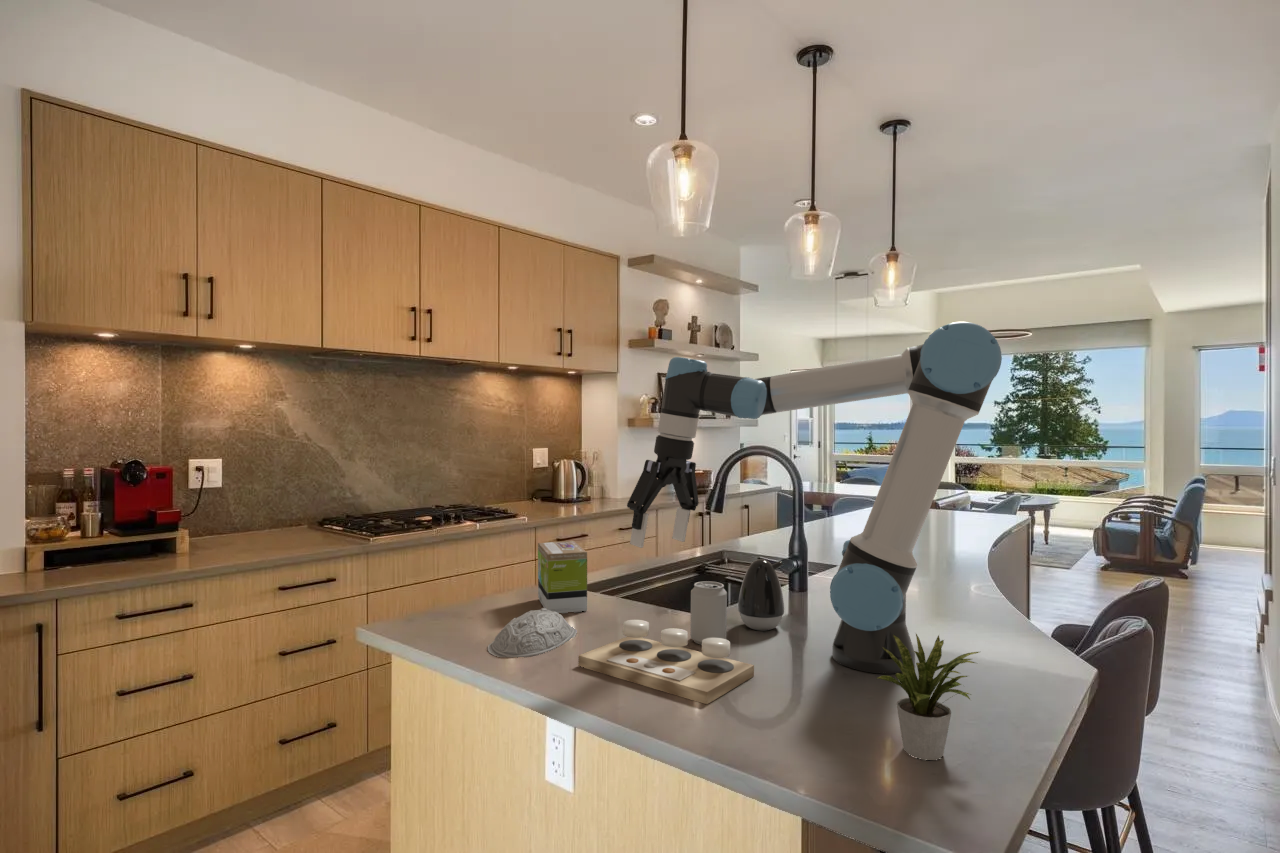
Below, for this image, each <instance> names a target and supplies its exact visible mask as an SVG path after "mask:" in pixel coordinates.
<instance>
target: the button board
mask: <svg viewBox="0 0 1280 853" xmlns="http://www.w3.org/2000/svg"><path fill="white" fill-rule="evenodd" d="M577 656H578V662H577V665H578V667H580V666H581V668H583V667H584V669H586V670H590V671H594V672H597V673H601V674H604V675H607V676H609V677H610V676H611V677H612V678H613V677H614V678H617V679H620V680H624V681H628V682H629V683H634V684H638V685H641V686H644V687H647V688H650V689H654V690H657V691H661V692H664V693H668V694H671V695H675V696H677V697H680V698H683V699H684V698H685V699H687V700H691V701H694V702H697V703H700V704H704V705H709V704H710V703H712V702H713V701H716V700H717V699H719V698H721V697H722V696H723V695H725V694H727V693H728V692H730V691H731V690H733V689H735V688H736V687H738V686H741V684H743V683H745V682H747V681H748V680H750V679H751V678H754V677H755V665H754V664H752V663H747V662H742V661H739V660H735V659H732V658H727V657H723V658H712V657H707V656H705V655H703V654H702V651H697V650H695V649H692V648H691V649H689V648H686V647H684V646H683V647H667V646H664V645H662V644H661V641H658V640H653V639H650V638H646V637H640V638H632V637H627V636H625V637H623V638H619V639H617V640H615V641H613V642H609V643H607V644H603V645H602V646H599V647H596V648H594V649H592V650H589V651H586V652H584V653H581V654H578V655H577Z"/></svg>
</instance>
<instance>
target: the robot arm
mask: <svg viewBox="0 0 1280 853" xmlns="http://www.w3.org/2000/svg"><path fill="white" fill-rule="evenodd" d="M1000 346H1001V345H1000V344H999V341H998V339H996V337H995V336H994V335H993V333H991V332H990V330H988V329H987V328H985V327H983V326H981V325H980V324H978V323H974V322H970V321H969V322H968V321H955V322H950V323H946V324H945V325H942V326H940V327H938V328H937V329H935V330H934V331H933V332H932V333H931V334H930V335H929V336H928V337H927V339H925V341H924V342H923V344H920V345H916V346H910V347H908V346H907V347H906V349H905V350H904V351H903V352H902V353H900V354H895V355H889V356H882V357H877V358H872V359H865V360H859V361H853V362H848V363H841V364H836V365H830V366H824V367H823V366H822V367H817V368H812V369H806V370H800V371H795V372H788V373H783V374H777V375H770V376H764V377H758V378H753V377H749V376H748V377H747V376H745V377H744V376H737V375H732V374H731V375H728V374H724V373H723V374H722V373H716V372H715V373H714V372H711V371H708V363H707V362H706V361H704V360H700V359H695V358H688V357H680V356H675V357H672V358H670V360H669V362H668V366H667V371H666V375H665V377H664V387H663V388H664V389H663V394H662V400H661V402H662V403H661V408H660V413H659V420H658V426H657V432H658V433H659V435H656V437H655V444H654V448H653V449H654V450H653V452H654V454H655V455H656V456H657V458H656V460H651V459H646V460H645V462H644V465H643V470H642V473H641V474H640V476H639V479H638V481H637V483H636V484H635V487H634V489H633V491H632V493H631V495H630V497H629V500H628V501H627V503H626V507H627V508H628V509H629V511H633V515H632V516H633V517H632V523H631V528H632V529H631V535H630V541H629V545H632V546H634V547H637V548H640V549H642V548H644V544H645V538H646V533H647V528H648V527H647V526H648V521H649V513H648V512H647V511H648V509H649V508H650V506H652V503H653V502H654V501H655V499H656V498H657V496H658V495H659V493H660V492H661V491H662V489H663V488H665V487H666V486H667V485H669V486H670V485H672V486H673V488H674V492H675V494H676V497H677V500H678V503H679V505H680V507H676V512H675V513H676V514H675V519H674V526H673V531H672V537H671V538H672V539H673V540H676V541H679V542H681V543H684V542H686V536H687V531H688V530H687V529H688V525H689V524H688V523H689V522H690V521H689V520H690V515H691V511H693V512H694V511H696V509H697V507H698V505H699V504H700V503H699V494H698V486H697V478H696V477H697V476H696V467H697V464H696V462H694V461H691V459H692V458H693V452H694V447H695V442H694V440H693V439H696V437H697V431H698V430H697V429H698V422H699V418H700V413H701V412H700V411H703V412H710V413H715V414H719V415H725V416H731V417H734V418H735V417H737V418H739V419H745V420H747V419H751V420H757V419H759V418H760V417H762V416H764V415H771V414H776V413H783V412H789V411H797V410H802V409H804V410H805V409H809V408H811V409H812V408H816V407H824V406H829V405H832V406H833V405H837V404H838V405H839V404H844V403H845V404H846V403H851V402H857V401H858V402H859V401H866V400H871V399H878V398H886V397H892V396H898V395H900V396H901V395H904V394H906V395H909V397H910V400H911V402H912V404H911V408H910V410H909V412H908V416H907V417H906V420H905V423H904V425H903V428H902V430H901V433H900V436H899V438H898V441H897V444H896V446H895V448H894V451H893V454H892V457H891V460H890V461H889V464H888V466H887V469H886V471H885V474H884V477H883V479H882V482H881V485H880V487H879V490H878V492H877V495H876V496H875V497H876V498H875V500H874V502H873V505H872V508H871V511H870V513H869V515H868V518H867V520H866V523H865V525H864V528H863V530H862V532H861V533H858V534H857V535H854V536H851V537H850V538H849V539H848V540H846V541H844V542H843V545H842V551H841V555H842V559H841V563H840V564H839V567H838V570H837V572H836V573H835V574H834V576H832V579H831V582H830V585H829V589H830V590H829V593H830V594H829V596H830V597H829V598H830V602H831V605H832V607H833V609H834V611H835V613H836V614H837V615H838V617H839V618H840V619H841V620H840V622H839V625H838V628H837V631H836V633H835V637H834V639H833V643H832V645H831V646H832V650H831V653H832V655H831V657H832V659H833V660H834V661H835V662H837V664H838V663H839V664H840V665H842V666H844V667H846V668H849V669H853V670H857V671H860V672H861V671H862V672H866V673H873V674H884V675H885V674H887V675H888V674H896V673H901V674H903V673H902V671H901V669H900V668H899V666H898V665H897V664H896V663H895V662H894V660H893V659H892V658H891V656H890V655H889V654H888V653H887V652H886V651H885V650H884V649H883V648H885V649H887V650H888V651H890V652H891V653H892V654H893V655H894V656H895V657H896V658H897V659H898V660H900V662H901V663H902V664H903V661H902V657H901V654H900V651H899V648H898V645H897V643H896V641H895V638H894V636H896V637H898V638H899V639H900V640H901V642H902V643H903V644H904V645H905V646H906V648H907V649H908V650H909V653H910V655H911V658H912V661H913V664H914V666H915V667H916V653H915V652H913V651H915V649H914V647H913V643H912V638H911V636H910V633H909V629H908V627H907V623H906V622H907V620H906V614H907V607H906V606H907V592H908V589H909V587H910V584H911V582H912V580H913V576H914V575H915V572H916V570H917V567H918V562H917V561H916V559H915V557H914V554H913V551H914V548H915V547H916V544H917V541H918V539H919V536H920V533H921V531H922V528H923V527H924V525H925V521H926V519H927V516H928V513H929V511H930V509H931V506H932V504H933V502H934V498H935V496H936V494H937V492H938V489H939V487H940V484H941V482H942V480H943V476H944V474H945V472H946V469H947V466H948V464H949V462H950V459H951V456H952V454H953V451H954V449H955V447H956V444H957V441H958V440H959V437H960V435H961V432H962V429H963V427H964V424H965V423H966V421H967V420H969V419H971V418H973V417H976V416H978V415H979V413H980V412H981V408H982V406H983V403H984V401H985V399H986V396H987V395H988V392H989V389H990V387H991V385H992V382H993V381H994V379H995V378H996V377H997V375H998V373H999V372H1000V368H1001V367H1002V366H1001V365H1002V359H1003V358H1002V357H1003V356H1002V351H1001V350H1002V349H1001V347H1000ZM893 635H894V636H893Z"/></svg>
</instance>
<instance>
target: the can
mask: <svg viewBox="0 0 1280 853" xmlns="http://www.w3.org/2000/svg"><path fill="white" fill-rule="evenodd" d="M693 586H694V587H693V588H692V589H691V590H690V636H689V637H690V638H691V639H692V640H693V641H694V642H695V644H697V645H700V646H702V640H704V639H706V638H723V639H726V640H727V617H728V616H727V612H728V611H727V610H728V609H727V607H728V603H727V602H728V600H727V599H728V592H727V590H726V589H725V588H724V587H725V585H724V584H723V583H721V582H717V581H709V580H708V581H707V580H706V581H698V582H694V584H693Z"/></svg>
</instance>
